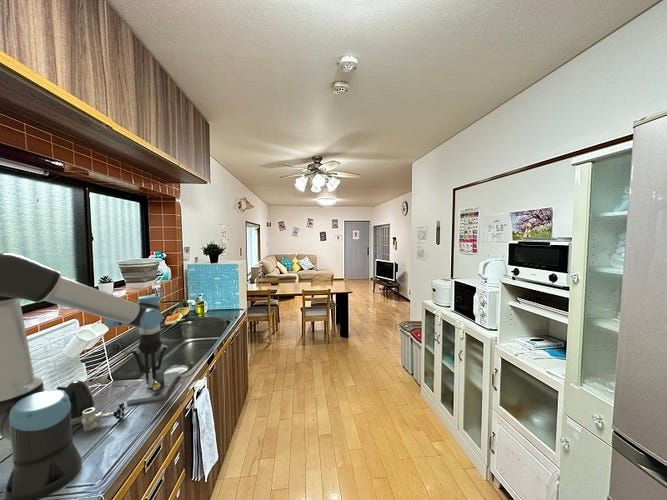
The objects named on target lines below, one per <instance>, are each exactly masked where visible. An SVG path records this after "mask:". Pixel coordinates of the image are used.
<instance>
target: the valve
mask: <svg viewBox="0 0 667 500" xmlns="http://www.w3.org/2000/svg"><path fill="white" fill-rule="evenodd" d="M124 405H125V402H121V403H118V405H117V406H118V407H117V408H116V409H115V410H114V411H113V412H111V411H109V412H106V413H104V412H103V411H102V412H98V413H96V408H95V407H94V408H89V409H86V410H84V411H83V412H82V416H83V418H82V422H81V425H82V426H83V427H82V428H83V431H84V432H89V431H92V430H94V429H95V428H96V427H97V422H98V423H100V422H102V421H103V420H104V419H109V418H111V417H114V418H115V419H116V420H117V423H122V422H123V421H124V417H125V410H126V407H125V406H124Z"/></svg>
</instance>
